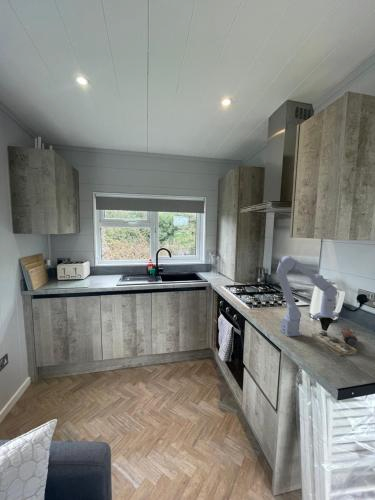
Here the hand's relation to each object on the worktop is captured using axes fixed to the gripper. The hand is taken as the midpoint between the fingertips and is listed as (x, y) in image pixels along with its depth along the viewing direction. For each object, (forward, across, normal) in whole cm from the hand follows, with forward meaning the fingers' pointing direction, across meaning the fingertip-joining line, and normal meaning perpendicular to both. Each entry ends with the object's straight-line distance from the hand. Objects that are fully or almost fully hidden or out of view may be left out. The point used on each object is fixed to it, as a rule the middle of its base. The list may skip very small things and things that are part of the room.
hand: (324, 330), depth 120 cm
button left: (+3, 0, 0) cm, 3 cm away
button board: (+5, -1, -6) cm, 8 cm away
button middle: (+3, 0, -7) cm, 7 cm away
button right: (+4, 0, -13) cm, 14 cm away
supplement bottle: (+2, +14, -2) cm, 14 cm away
